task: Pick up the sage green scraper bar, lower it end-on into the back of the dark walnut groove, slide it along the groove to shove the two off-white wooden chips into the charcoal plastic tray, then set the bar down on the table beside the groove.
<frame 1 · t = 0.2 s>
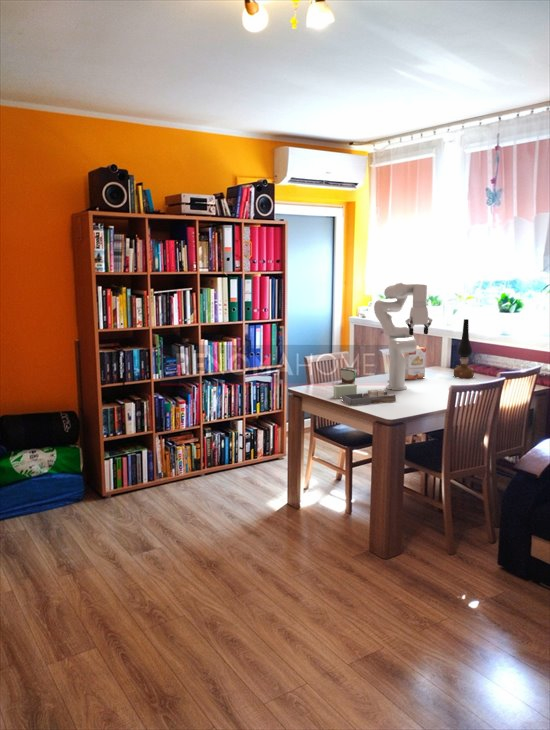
hand: (418, 334, 340), 37 cm above the table, tool pointing down, fingers open, 9 cm apart
chip near: (379, 396, 338), point 2 cm above the table, touching groove board
groove board: (379, 400, 338), on the table
cracker box: (414, 378, 400), on the table
scraper bar: (345, 397, 348), on the table
chip far: (372, 397, 336), point 2 cm above the table, touching groove board
food container: (350, 383, 386), on the table
oil lamp: (463, 376, 405), on the table
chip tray: (356, 402, 334), on the table
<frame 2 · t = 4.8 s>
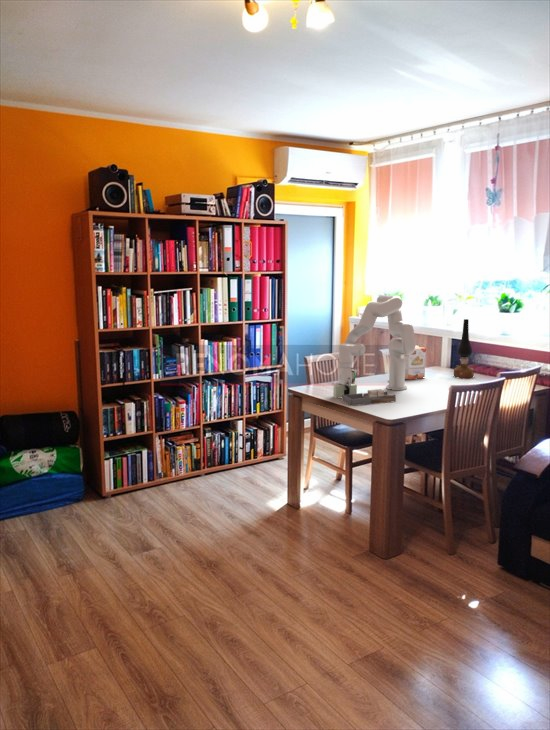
hand: (345, 395, 347), 1 cm above the table, tool pointing down, fingers closed on scraper bar, 4 cm apart
scraper bar: (345, 396, 347), on the table, touching gripper
everything else where it was.
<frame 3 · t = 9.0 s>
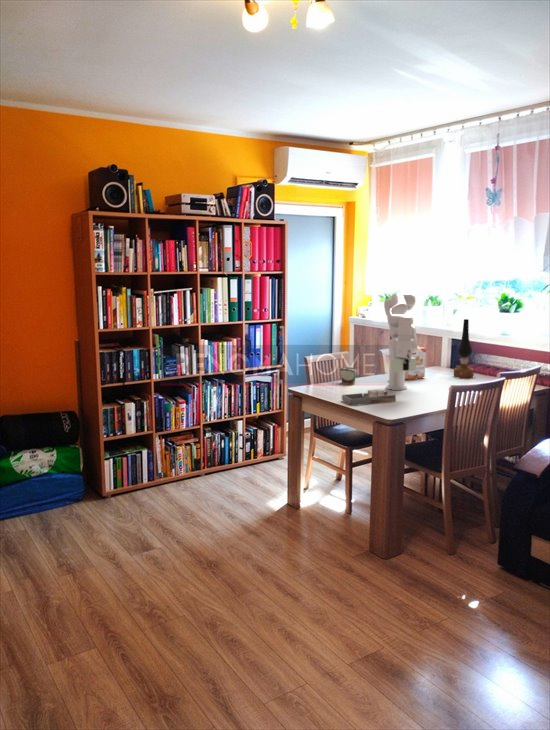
hand: (403, 368, 340), 17 cm above the table, tool pointing down, fingers closed on scraper bar, 4 cm apart
scraper bar: (403, 370, 340), point 16 cm above the table, touching gripper
everything else where it was.
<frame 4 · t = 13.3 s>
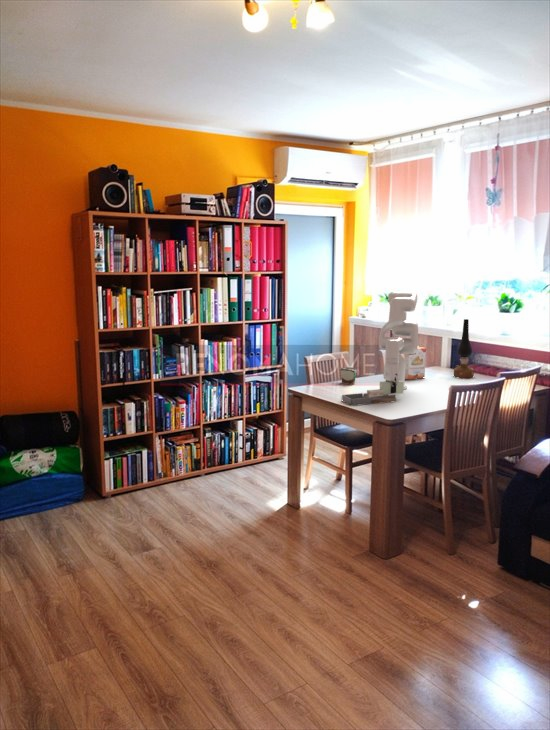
hand: (391, 391, 339), 4 cm above the table, tool pointing down, fingers closed on scraper bar, 4 cm apart
chip near: (378, 397, 337), point 2 cm above the table, touching chip far
scraper bar: (391, 393, 340), point 3 cm above the table, touching gripper
chip far: (371, 397, 336), point 2 cm above the table, touching chip near
everything else where it was.
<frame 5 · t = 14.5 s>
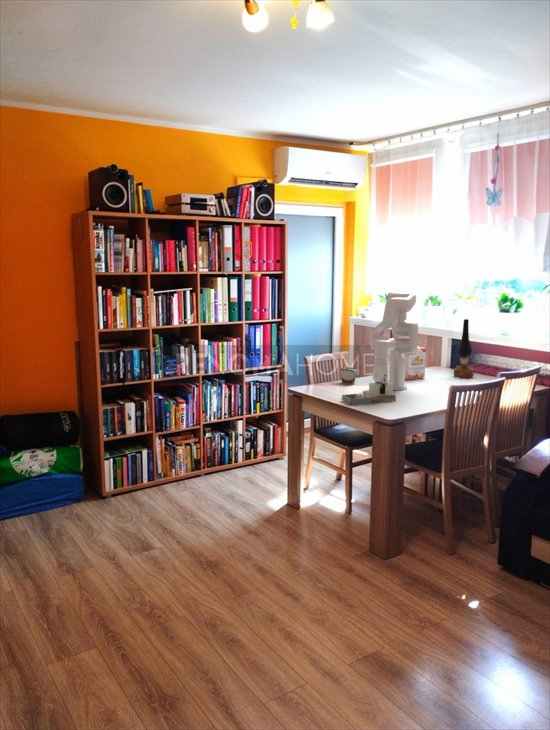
hand: (380, 392, 337), 4 cm above the table, tool pointing down, fingers closed on scraper bar, 4 cm apart
chip near: (367, 398, 335), point 2 cm above the table, touching groove board, scraper bar
scraper bar: (380, 395, 338), point 3 cm above the table, touching chip near, gripper
chip far: (362, 397, 334), point 2 cm above the table, tilted 90°, touching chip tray
everything else where it was.
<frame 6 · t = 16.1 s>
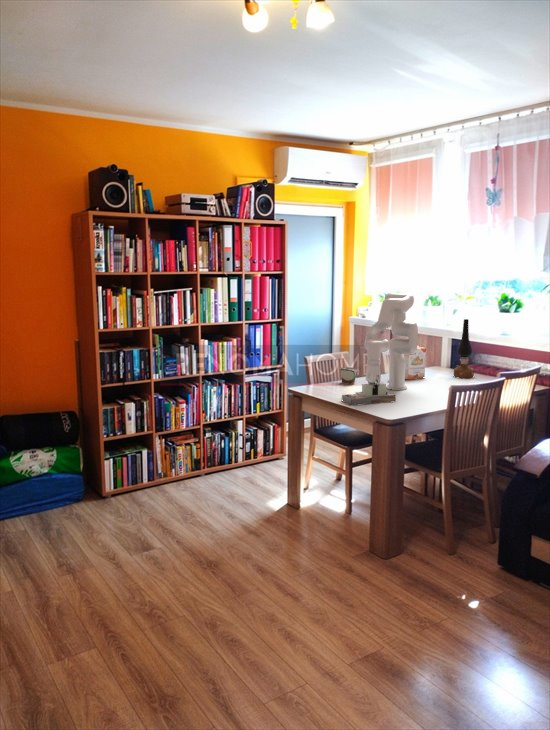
hand: (373, 393, 336), 4 cm above the table, tool pointing down, fingers closed on scraper bar, 4 cm apart
chip near: (360, 399, 334), point 1 cm above the table, touching chip far, scraper bar
scraper bar: (373, 396, 336), point 3 cm above the table, touching chip near, gripper
chip far: (356, 397, 333), point 2 cm above the table, tilted 90°, touching chip near, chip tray
everything else where it was.
when the fingers open (2 cm above the table, at t = 22.1 s): scraper bar moves 1 cm, on the table.
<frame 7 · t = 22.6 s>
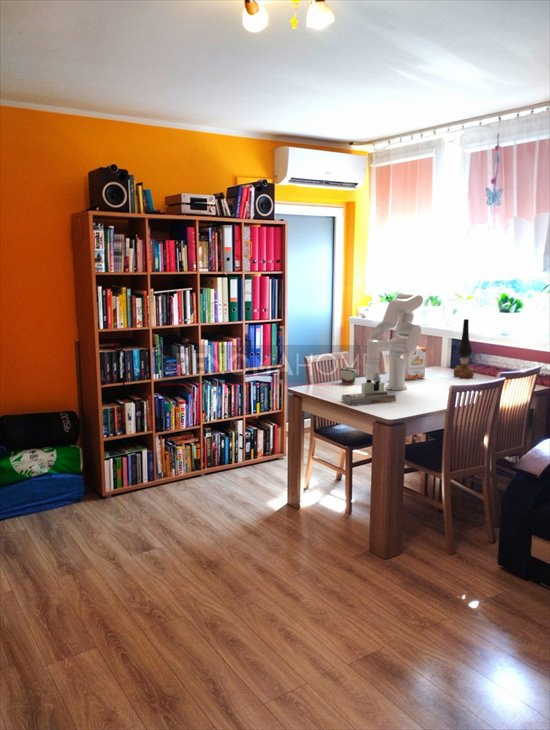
hand: (372, 389, 352), 3 cm above the table, tool pointing down, fingers open, 9 cm apart
chip near: (360, 401, 334), resting on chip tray
scraper bar: (372, 394, 353), on the table
chip far: (356, 397, 333), point 2 cm above the table, tilted 90°, touching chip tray
everything else where it was.
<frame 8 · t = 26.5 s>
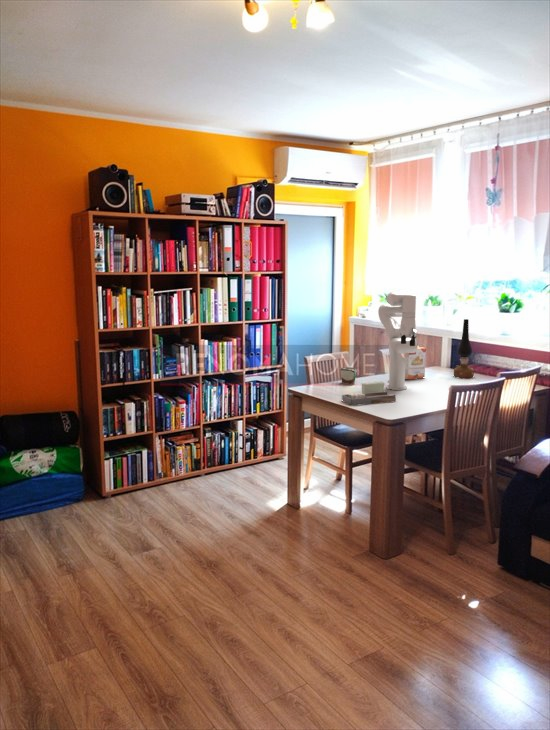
hand: (407, 344, 344), 30 cm above the table, tool pointing down, fingers open, 9 cm apart
nothing on the table moved.
at the end: chip near inside the target area (2.2 cm from its centre), point 0.5 cm above the table; chip far inside the target area (0.2 cm from its centre), point 2.5 cm above the table; scraper bar inside the target area (0.4 cm from its centre), on the table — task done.
